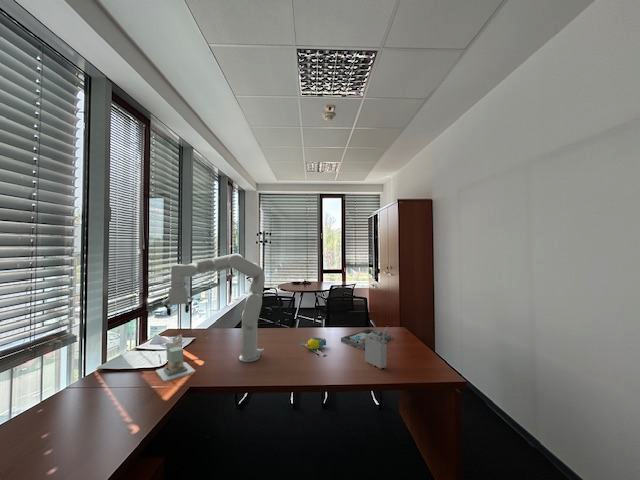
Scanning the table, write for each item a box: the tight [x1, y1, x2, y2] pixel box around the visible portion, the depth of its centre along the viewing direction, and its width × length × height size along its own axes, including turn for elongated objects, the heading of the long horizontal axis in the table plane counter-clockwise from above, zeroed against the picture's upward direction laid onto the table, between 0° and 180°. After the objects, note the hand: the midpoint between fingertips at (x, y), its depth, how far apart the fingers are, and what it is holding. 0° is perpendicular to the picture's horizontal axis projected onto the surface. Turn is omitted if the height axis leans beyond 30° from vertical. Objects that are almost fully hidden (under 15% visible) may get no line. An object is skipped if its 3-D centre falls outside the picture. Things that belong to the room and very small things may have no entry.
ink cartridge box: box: [165, 333, 183, 361], centre depth 177 cm, size 9×5×15 cm, turn 168°
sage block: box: [168, 346, 184, 363], centre depth 160 cm, size 6×6×6 cm
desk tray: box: [340, 327, 392, 350], centre depth 212 cm, size 33×21×3 cm, turn 133°
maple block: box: [167, 359, 184, 373], centre depth 160 cm, size 6×6×6 cm
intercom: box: [349, 330, 381, 345], centre depth 216 cm, size 13×4×25 cm
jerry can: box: [364, 326, 390, 368], centre depth 169 cm, size 15×5×25 cm, turn 35°
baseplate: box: [155, 361, 196, 383], centre depth 160 cm, size 16×16×2 cm
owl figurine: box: [300, 337, 327, 354], centre depth 195 cm, size 28×9×15 cm
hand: (178, 313), depth 169 cm, fingers open, 9 cm apart
